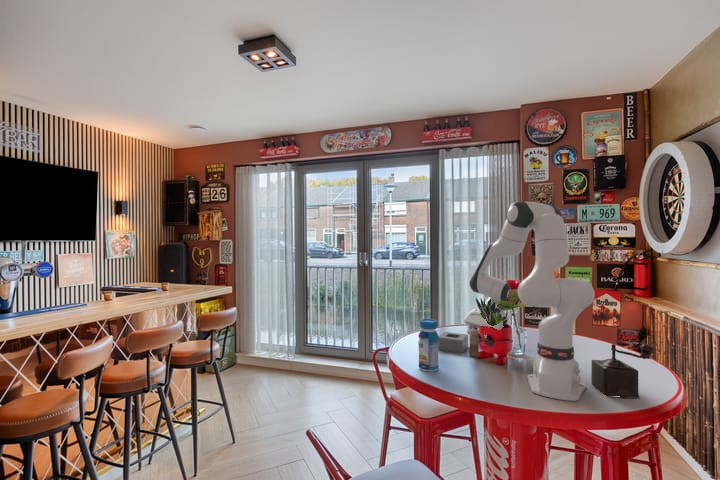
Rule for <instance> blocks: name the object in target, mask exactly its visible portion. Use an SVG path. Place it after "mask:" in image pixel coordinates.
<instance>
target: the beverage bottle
mask: <svg viewBox="0 0 720 480" xmlns="http://www.w3.org/2000/svg"><path fill="white" fill-rule="evenodd" d="M419 322H420V323H419V325H420V326H419V327H420V329H421V330H420V331H419V333H418V339H419V340H418V341H417V342H418V368H419V369H420V370H421V371H424V372H429V373H431V372H436V371H437V370H439V369H440V368H439V367H440V366H439V350H438V346H439V342H438V338H439V337H438V336H439V333H438V331H437V328H438V327H437V325H438V323H437V320H436V319H433V318H422V319H420V321H419Z"/></svg>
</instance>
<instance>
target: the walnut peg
mask: <svg viewBox="0 0 720 480" xmlns="http://www.w3.org/2000/svg"><path fill="white" fill-rule="evenodd" d="M479 331H480V330H478V329H477V328H476V329H475V328H471V329H470V334H469V357H470V358H471V359H479V357H480V354H479V353H480V352H479V351H480V347H479V346H480V344H479V343H480V340H479V337H480V336H479V333H480V332H479Z"/></svg>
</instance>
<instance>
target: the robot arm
mask: <svg viewBox="0 0 720 480" xmlns="http://www.w3.org/2000/svg"><path fill="white" fill-rule="evenodd" d="M505 214H506V220H505V222H504V224H503V225H502V229H501V231H500V235H499V237H498V239H497V240H496V241H495V242H491V243H490V244H489V245H488V246H487V248H486V250H485V251H484V254H483V256H482V258H481V260H480V262H479V264H478V265H477V268H476V269H475V271H474V273H473V275H472V276H471V277H470V280H469V286H470V289H471V291H472V292H474V293H477V294H480V295H483V296H485V297H487V299H486V300H485V301H484V302H485V304H488V301H489V300H490V299H492V300H494V301H493V302H495V303H497V302H499V301H503V300H507V297H508V294H509V291H510V290H512V287H511V285H510V284H509V282H508V281H505V280H503V279H500V278H497V277H494V276H492V275H489V274H487V271H488V269H489V267H490V265H491V263H492V261H493V260H494V259H495V258H509V257H514V256H518V255H520V254H521V253H522V252H523V251H524V248H525V246H526V243H527V240H528V236H529V233H530V232H531V231H532V230H533V232H534V247H535V261H534V266H533V268H532V271H531V272H530V273H529V274H528V276H526V277H525V278H524V279H522V280H521V282H520V283H519V285H518V287H517V296H518V298H519V300H520V301H521V303H522V304H523V305H524V306H525V305H526V306H530V307H534V308H553V309H554V310H553V311H552V313H551V314H550V315H548V316H546V317H544V318H542V319H541V320H540V321H539V323H538V342H537V346H536V348H537V354H536V355H534V356H533V364H532V365H533V366H532V367H533V369H531V372H532V373H531V374H527V380H528V384H529V387H530V390H531V392H532V393H534V394H535V395H536V394H537V395H539V396H543V397H547V398H549V399H550V398H551V399H557V400H562V401H568V402H572V401H573V402H574V401H575V402H577V401H579V400H580V398H581V397H582V395H583V394H584V391H585V390H586V384H585V383H584V382H581V375H580V373H581V369H580V368H579V367H580V364H579V362H578V361H577V360H575V348H574V346H573V335H574V325H575V323H576V320H577V319H578V318H579V315H580V314H581V312H583V311H584V310H585V309H587V308H588V307H589V306H591V304H592V303H593V302H594V300H595V296H596V295H595V289H594V288H593V285H591V283H590V282H589V281H587V280H584V279H578V278H571V277H567V278H566V277H565V278H564V277H563V278H562V277H554V275H555V272H556V270H559V269H561V268H563V267H564V266H566V265H567V264H568V262H569V260H570V254H569V242H568V241H569V239H568V232H567V228H566V224H565V221H564V219H563V216H562V211H561V209H560V208H559V207H558V206H555V205H552V204H546V203H541V202H537V201H536V202H535V201H523V200H519V201H514V202H512V203H510V205H509V206H508V208H507V210H506V213H505ZM512 291H513V290H512ZM492 300H491V301H492ZM495 309H496V310H495V312H496V313H500V314H501V315H503V316H504V315H505V317H506V315H507V314H506V313H505V311H504V310H503V309H502V310H501V309H499V308H498V307H496V308H495ZM480 312H481V310H480V309H477V308H473V309H471V310H470V311H469V312H468V313H467V315H466V316H465V317H464V319H463V322H464V324H465V325H466V326H467V330H466V333H467V335H470V329H475V328H476V329H479V326H480V325H484V326H488V327H493V328H495V329H497V330H501V329H502V328H503V327H504V326H503V321H501V322H500V323H499V324H497V325H494V326H491V325H489V324H488V323H487V321H486V319H484V318H483V317H482V315H481V314H480ZM508 321H509V316H507V322H508ZM483 338H484V339H486V338H487V335H485V333H484V335H483Z"/></svg>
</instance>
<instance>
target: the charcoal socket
mask: <svg viewBox="0 0 720 480" xmlns="http://www.w3.org/2000/svg"><path fill="white" fill-rule="evenodd" d="M438 337H439V338H438V342H439V346H438V351H445V352H453V353H459V354H463V353H464V352H465V351H466V350H467V348H468V347H469V334H468V333H467V334H466V333H457V332H450V331H449V332H448V331H444V332H442V333H441V334H440V335H439V334H438Z"/></svg>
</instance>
